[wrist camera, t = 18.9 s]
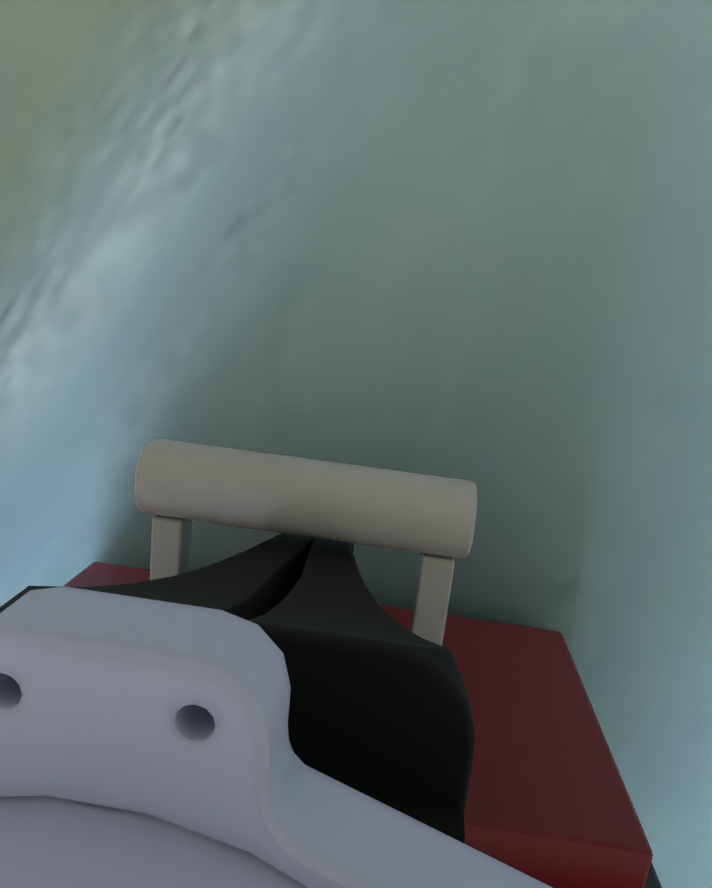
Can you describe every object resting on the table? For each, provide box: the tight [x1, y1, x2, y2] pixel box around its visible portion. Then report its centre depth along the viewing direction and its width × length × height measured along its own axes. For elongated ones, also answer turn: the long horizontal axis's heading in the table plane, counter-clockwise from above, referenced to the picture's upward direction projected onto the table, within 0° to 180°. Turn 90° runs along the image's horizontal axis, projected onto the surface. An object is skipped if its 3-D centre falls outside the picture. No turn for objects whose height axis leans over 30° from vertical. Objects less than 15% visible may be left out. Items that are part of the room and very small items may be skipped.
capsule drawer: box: [63, 439, 653, 888], centre depth 14 cm, size 18×12×7 cm
